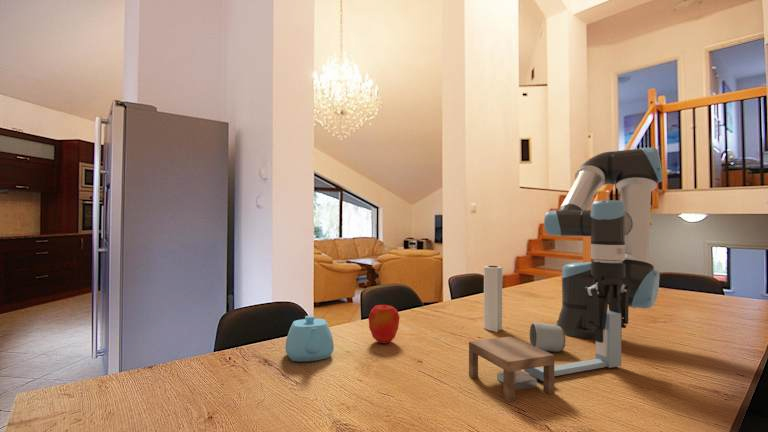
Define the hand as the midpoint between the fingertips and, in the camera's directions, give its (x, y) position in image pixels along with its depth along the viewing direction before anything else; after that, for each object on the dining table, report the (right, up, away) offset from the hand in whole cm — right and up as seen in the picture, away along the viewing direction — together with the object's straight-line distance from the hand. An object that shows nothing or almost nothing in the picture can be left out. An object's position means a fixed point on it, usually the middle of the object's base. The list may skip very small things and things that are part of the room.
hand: (608, 353), depth 96 cm
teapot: (-77, -3, +5) cm, 77 cm away
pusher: (-10, -2, -4) cm, 11 cm away
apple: (-57, -3, +18) cm, 60 cm away
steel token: (-27, -3, -10) cm, 29 cm away
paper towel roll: (-20, -4, +33) cm, 39 cm away
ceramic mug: (-11, -4, +13) cm, 17 cm away
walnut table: (-29, -3, -11) cm, 31 cm away
